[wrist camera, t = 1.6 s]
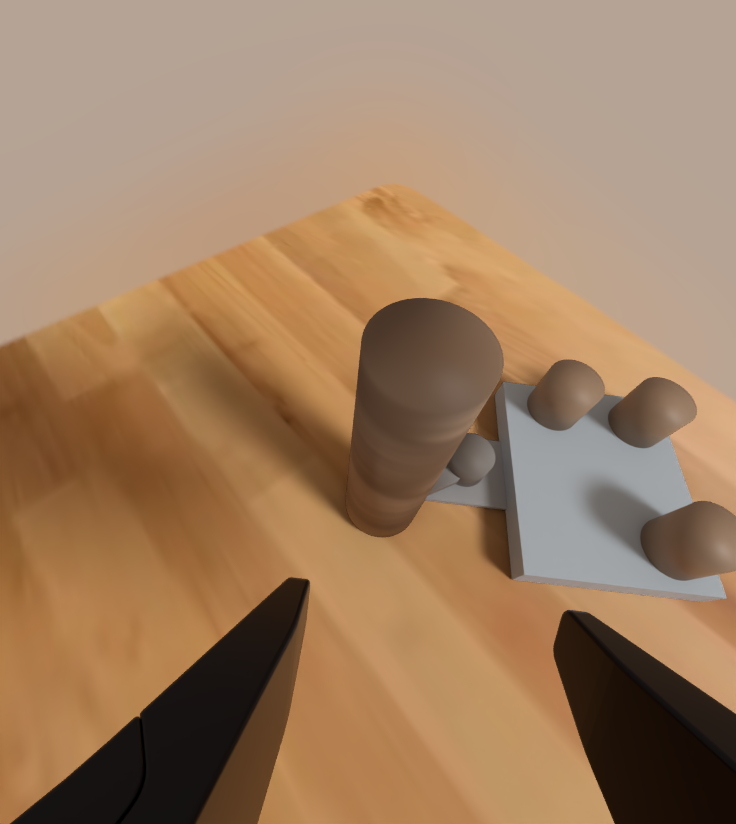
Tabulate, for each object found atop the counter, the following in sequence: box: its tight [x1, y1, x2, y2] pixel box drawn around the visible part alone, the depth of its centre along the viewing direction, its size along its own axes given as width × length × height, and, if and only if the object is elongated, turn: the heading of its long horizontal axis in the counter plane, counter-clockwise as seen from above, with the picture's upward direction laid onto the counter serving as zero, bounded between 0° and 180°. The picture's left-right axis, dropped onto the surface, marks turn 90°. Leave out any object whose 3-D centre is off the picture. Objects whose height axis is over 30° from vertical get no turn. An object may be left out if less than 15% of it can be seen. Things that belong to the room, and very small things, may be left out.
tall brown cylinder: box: [345, 298, 504, 537], centre depth 17 cm, size 9×4×13 cm, turn 114°
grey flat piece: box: [425, 360, 736, 602], centre depth 23 cm, size 15×17×5 cm
